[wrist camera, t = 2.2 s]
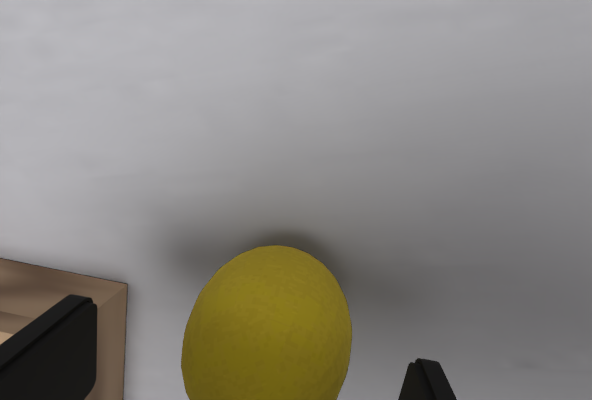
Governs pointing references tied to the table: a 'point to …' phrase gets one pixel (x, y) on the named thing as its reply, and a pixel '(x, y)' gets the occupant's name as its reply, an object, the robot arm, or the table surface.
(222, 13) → the table surface
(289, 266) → the lemon
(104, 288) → the wooden open box
